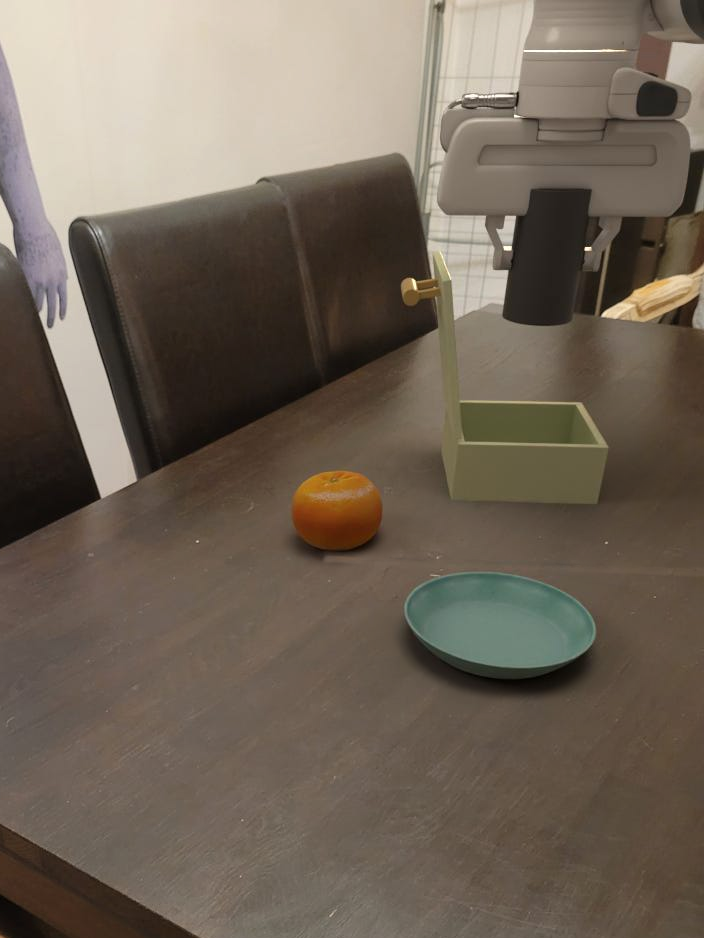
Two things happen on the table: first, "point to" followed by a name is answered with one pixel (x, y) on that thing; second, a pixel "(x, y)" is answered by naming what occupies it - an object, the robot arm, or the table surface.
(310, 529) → the fruit
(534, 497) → the chest
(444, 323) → the chest lid
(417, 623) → the saucer
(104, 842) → the table surface
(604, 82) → the robot arm
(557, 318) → the black cup
